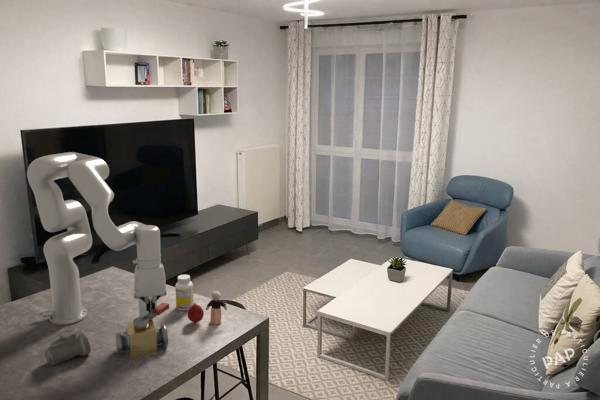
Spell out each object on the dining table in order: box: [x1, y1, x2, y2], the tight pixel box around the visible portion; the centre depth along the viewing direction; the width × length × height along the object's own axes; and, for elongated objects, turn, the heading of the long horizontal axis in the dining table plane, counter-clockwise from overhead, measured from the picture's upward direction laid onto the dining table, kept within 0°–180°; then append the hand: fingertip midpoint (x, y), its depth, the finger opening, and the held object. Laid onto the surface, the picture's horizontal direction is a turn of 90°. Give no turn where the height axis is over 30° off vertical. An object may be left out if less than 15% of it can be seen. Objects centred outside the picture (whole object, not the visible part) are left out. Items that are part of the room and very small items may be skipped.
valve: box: [115, 319, 169, 359], centre depth 156 cm, size 15×8×8 cm, turn 115°
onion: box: [186, 302, 205, 324], centre depth 174 cm, size 6×6×8 cm
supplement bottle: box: [175, 274, 195, 312], centre depth 185 cm, size 7×7×13 cm
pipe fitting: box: [44, 325, 91, 367], centre depth 149 cm, size 12×8×10 cm
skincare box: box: [138, 296, 158, 317], centre depth 177 cm, size 6×4×12 cm
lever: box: [132, 302, 170, 330], centre depth 160 cm, size 16×5×2 cm, turn 160°
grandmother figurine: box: [205, 290, 228, 326], centre depth 174 cm, size 8×4×13 cm, turn 102°
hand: (151, 312), depth 165 cm, fingers closed
